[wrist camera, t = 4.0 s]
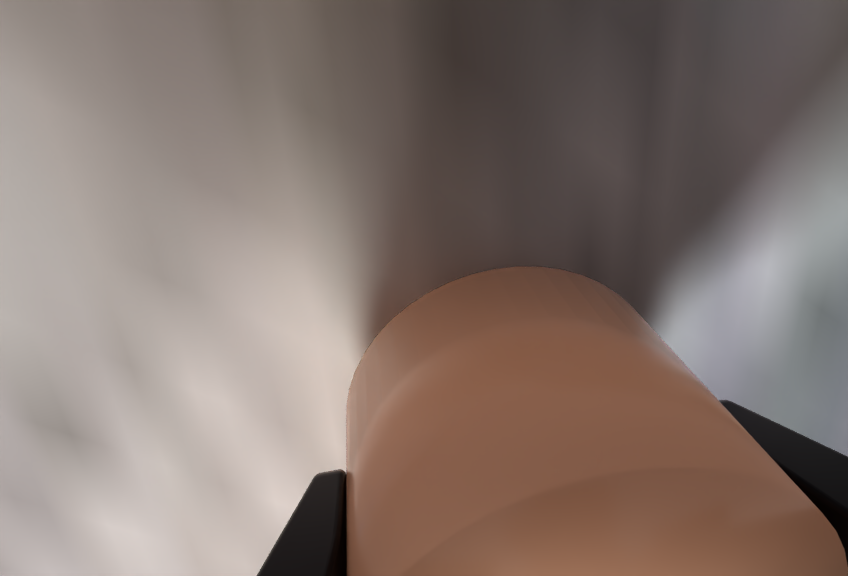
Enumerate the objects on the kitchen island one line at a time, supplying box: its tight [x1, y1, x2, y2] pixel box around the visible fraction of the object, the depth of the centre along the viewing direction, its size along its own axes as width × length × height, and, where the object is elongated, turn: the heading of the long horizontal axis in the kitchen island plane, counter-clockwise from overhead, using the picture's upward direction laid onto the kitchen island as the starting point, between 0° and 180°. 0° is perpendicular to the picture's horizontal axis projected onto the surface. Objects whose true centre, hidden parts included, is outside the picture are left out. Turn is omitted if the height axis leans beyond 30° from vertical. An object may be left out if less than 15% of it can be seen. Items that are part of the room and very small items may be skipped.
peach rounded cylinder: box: [346, 266, 848, 576], centre depth 8 cm, size 5×5×4 cm
